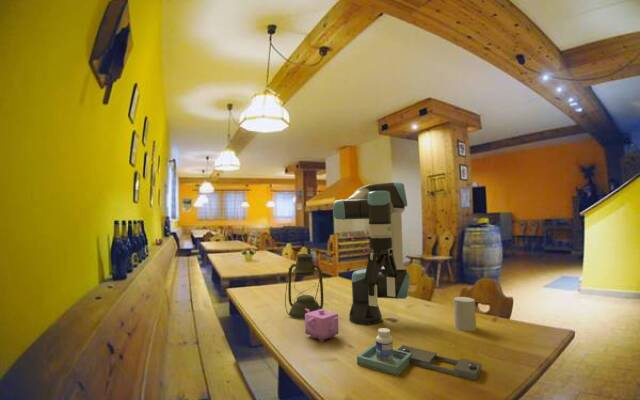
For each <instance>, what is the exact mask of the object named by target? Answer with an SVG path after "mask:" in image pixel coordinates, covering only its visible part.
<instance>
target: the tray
mask: <svg viewBox="0 0 640 400" xmlns="http://www.w3.org/2000/svg"><path fill="white" fill-rule="evenodd" d="M394 352H396V353H400V354H404V355H406V356H405V357H404V358H403V359H399V358H396V357H393V361H392V362H391V363H385V362H381V361H378V360H377V359H376V343H375V344H373V345H371V346H369V347H368V348H367V349H365V350H364V351H362V352H361V353H359V354H358V355H356V364H357V365H358V366H362V367H366V368H369V369H372V370H375V371H379V372H382V373H386V374H389V375H392V376H396V377H398V376H399V375H401V373H402V372H403V371H404V370H406V368H408V366H409V365H411V364H410V356H411V355H412V353H408V352H404V351H400V350H397V349H394V348H393V353H394Z"/></svg>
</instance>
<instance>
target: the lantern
mask: <svg viewBox="0 0 640 400" xmlns="http://www.w3.org/2000/svg"><path fill="white" fill-rule="evenodd" d="M295 257H297V258H296V259H297V260H296V262H295V263H293V264H291V265H290V267H288V272H287V279H286V286H285V291H287V288H288V303H289V305H290V307H291V308H290V309H289V312H288V309H287V292H284V293H285V294H284V296H285V297H284V304H285V305H284V307H285V311H286V313H287V314H288V316H289V317H291V318H293V319H298V320H299V319H301V320H305V314H306V313H307V311H306V310H305V309H309V310H310V312H312V311H316V310H319V309H324V308H323V307H324V284H323V283H324V282H323V275H322V272H323V270H322V269H321V267H320V266H319V265H317V264H315V263H314V260H313V257H314V255H312V254H311V253H300V254H297V255H296V256H295ZM293 268H294V269H293ZM316 271H318V277H319V278H318V279H319V280H318V285H317V283H316V282H314V284H315V285H314V287H315V286H317V288H316V294H315V297H314V296H312V295H309V294H302V293H304V292H306V291H308V290H309V288H308V289H306V290H303V291H302V292H300V291H298V293H299V295H298V296H297V297H295V298H294V300H293V301H294V302H292V273H295V274H296V276H297V277H299V279H301V278H303V277H309V276H314V274H315V272H316ZM303 279H304V280H306V281H308V279H307V278H303ZM297 281H298V279H296V280H295V282H294V284H293V287H294V289H296V287H295V286H296V285H295V284H296V282H297ZM310 282H312V283H313V281H312V280H310ZM319 286H320V290H319ZM318 292H320V304H319V302H318V301H317V296H318V295H317V294H318ZM300 294H301V295H300Z"/></svg>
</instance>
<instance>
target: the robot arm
mask: <svg viewBox="0 0 640 400" xmlns="http://www.w3.org/2000/svg"><path fill="white" fill-rule="evenodd" d="M407 199H408V198H407V195H406V189H405V184H404V183H403V182H384V183H383V182H382V183H369V184H367V185H366V184H365V185H364V186H361V187H358V188H357V189H355V191H354V192H353V193H352V195H351V196H349V197H347V198H346V199H336V200H334V202H333V204H332V213H333V214H332V215H333V218H335V219H336V220H343V221H345V220H368V236H369V239H368V241H369V245H368V246H369V249H371V250H373V252H368V253H367V263H366V264H367V265H366V268H363V269H358V270H355V271H353V272H352V274H351V289H352V290H351V292H352V294H351V296H352V297H351V298H352V304H351V307H350V311H349V314H348V317H349V321H350V322H351V323H354V324H358V325H375V324H379V323H381V322H382V319H383V318H382V312H381V310H380V307H379V306H380V305H379V304H378V301H379V300H378V298H379V299H395V300H398V299H399V300H401V299H402V300H403V299H404V300H405V299H407V298H408V296H409V289H410V280H411V279H410V278H411V273H410V272H407V271H408V270H407V267H406V266H405V265H404V257H403V255H404V254H403V253H404V251H403V227H402V225H403V224H402V223H403V222H402V217H403V216H402V215H403V213H404V212H405V207H406V208H407V207H408V201H407Z"/></svg>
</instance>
